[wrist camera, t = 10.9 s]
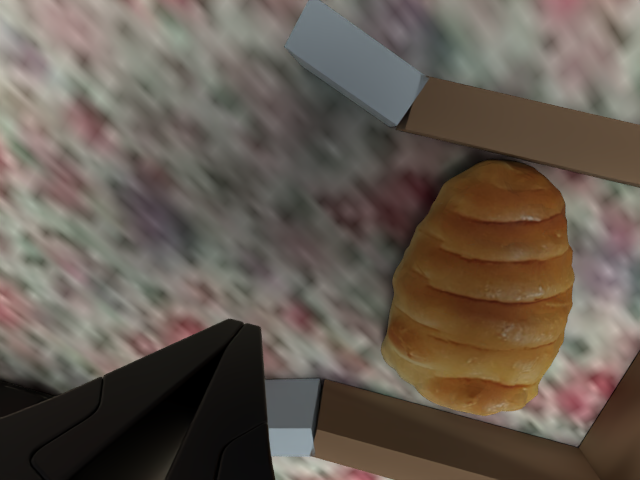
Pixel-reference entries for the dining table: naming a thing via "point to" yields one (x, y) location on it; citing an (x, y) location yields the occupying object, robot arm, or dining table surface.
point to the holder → (409, 418)
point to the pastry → (483, 290)
